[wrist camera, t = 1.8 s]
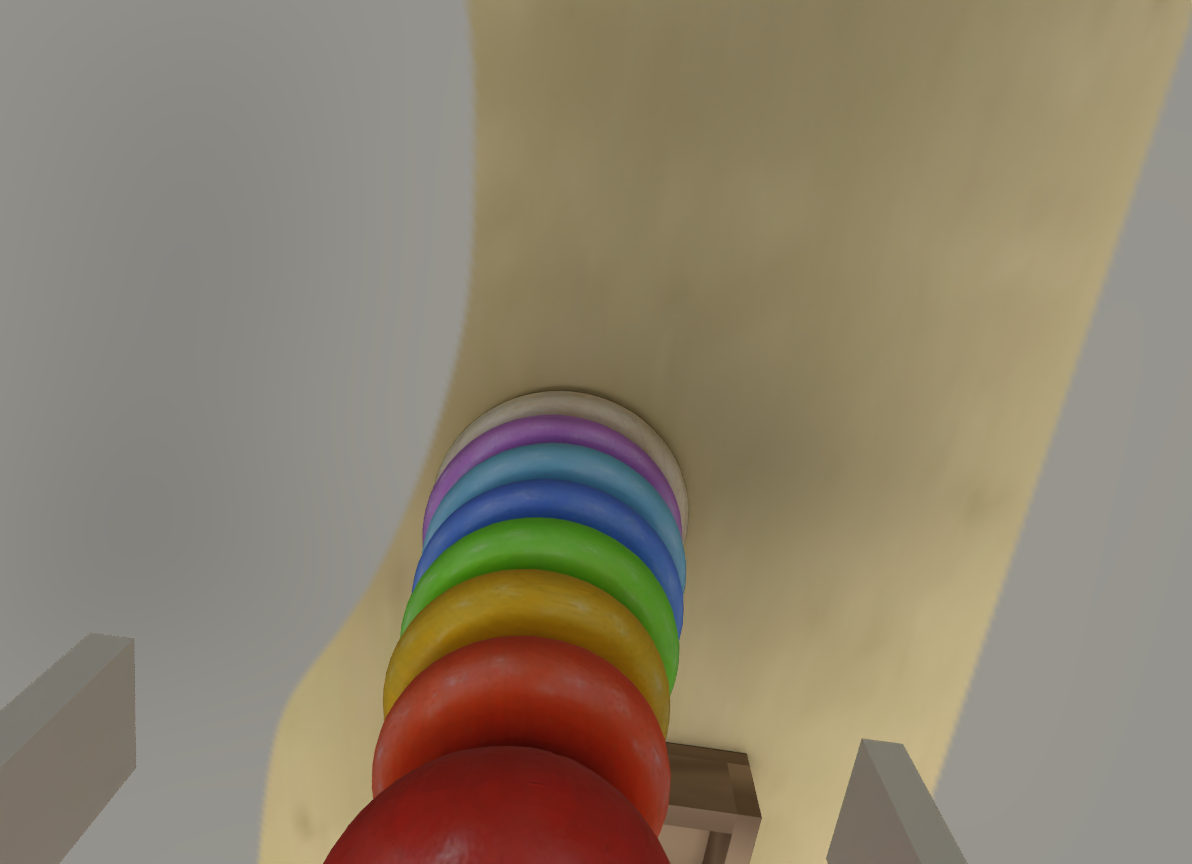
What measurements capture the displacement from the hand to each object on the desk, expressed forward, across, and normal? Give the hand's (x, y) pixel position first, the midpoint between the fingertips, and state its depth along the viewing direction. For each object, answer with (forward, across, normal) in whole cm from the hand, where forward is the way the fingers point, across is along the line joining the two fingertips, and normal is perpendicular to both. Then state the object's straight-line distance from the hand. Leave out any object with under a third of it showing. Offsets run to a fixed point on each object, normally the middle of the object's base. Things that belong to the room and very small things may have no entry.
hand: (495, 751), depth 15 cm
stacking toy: (+12, +1, 0) cm, 12 cm away
